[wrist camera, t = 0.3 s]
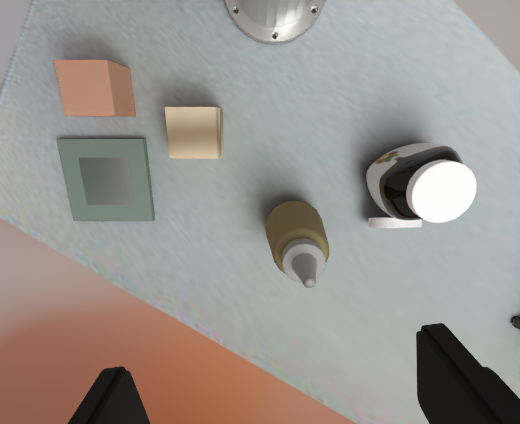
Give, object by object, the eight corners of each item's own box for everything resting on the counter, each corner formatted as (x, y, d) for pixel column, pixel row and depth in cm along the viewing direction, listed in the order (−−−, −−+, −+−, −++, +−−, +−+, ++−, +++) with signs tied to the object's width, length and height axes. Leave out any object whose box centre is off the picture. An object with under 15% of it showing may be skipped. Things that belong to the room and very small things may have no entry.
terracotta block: (85, 68, 38) (53, 59, 32) (130, 68, 38) (106, 59, 32) (93, 116, 40) (64, 115, 34) (136, 116, 40) (115, 115, 34)
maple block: (178, 108, 40) (164, 106, 34) (222, 108, 40) (215, 106, 34) (182, 153, 41) (169, 158, 36) (224, 153, 41) (217, 158, 36)
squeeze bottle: (328, 221, 44) (369, 285, 27) (288, 253, 46) (303, 332, 29) (294, 182, 42) (316, 225, 25) (254, 217, 44) (248, 279, 27)
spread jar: (421, 133, 40) (482, 138, 29) (444, 202, 43) (507, 231, 32) (341, 172, 42) (370, 190, 31) (369, 236, 45) (403, 274, 34)
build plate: (61, 138, 41) (56, 139, 40) (145, 138, 41) (142, 139, 40) (77, 218, 45) (73, 220, 44) (155, 219, 44) (152, 221, 43)
